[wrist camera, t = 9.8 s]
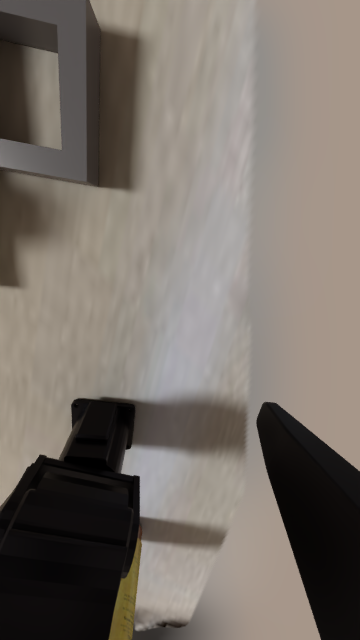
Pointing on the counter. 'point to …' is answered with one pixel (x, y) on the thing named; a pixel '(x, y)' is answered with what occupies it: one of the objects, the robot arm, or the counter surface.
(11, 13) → the socket block
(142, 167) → the counter surface
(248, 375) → the counter surface
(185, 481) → the counter surface
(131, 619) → the sauce bottle
